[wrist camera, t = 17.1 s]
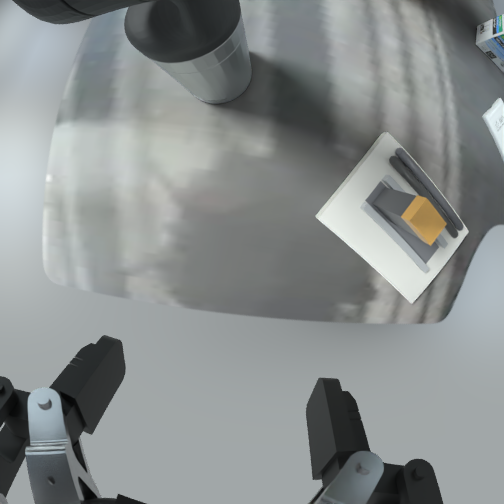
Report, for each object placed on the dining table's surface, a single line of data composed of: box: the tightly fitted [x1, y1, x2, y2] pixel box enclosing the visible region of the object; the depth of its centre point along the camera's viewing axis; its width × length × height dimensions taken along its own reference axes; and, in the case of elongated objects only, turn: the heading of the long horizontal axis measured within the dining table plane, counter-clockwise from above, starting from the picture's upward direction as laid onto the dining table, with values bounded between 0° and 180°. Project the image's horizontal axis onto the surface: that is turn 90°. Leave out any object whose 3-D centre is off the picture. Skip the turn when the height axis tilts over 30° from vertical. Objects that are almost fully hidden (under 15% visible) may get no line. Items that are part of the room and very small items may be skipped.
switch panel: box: [316, 132, 469, 304], centre depth 36 cm, size 22×16×4 cm
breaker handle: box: [372, 187, 446, 246], centre depth 29 cm, size 4×3×11 cm
